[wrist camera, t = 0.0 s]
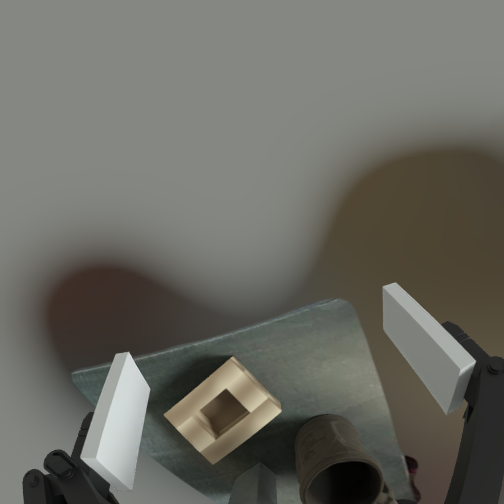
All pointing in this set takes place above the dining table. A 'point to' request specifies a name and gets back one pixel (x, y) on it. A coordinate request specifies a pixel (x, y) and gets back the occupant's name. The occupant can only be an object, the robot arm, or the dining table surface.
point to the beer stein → (337, 465)
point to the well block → (224, 411)
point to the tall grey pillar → (255, 486)
